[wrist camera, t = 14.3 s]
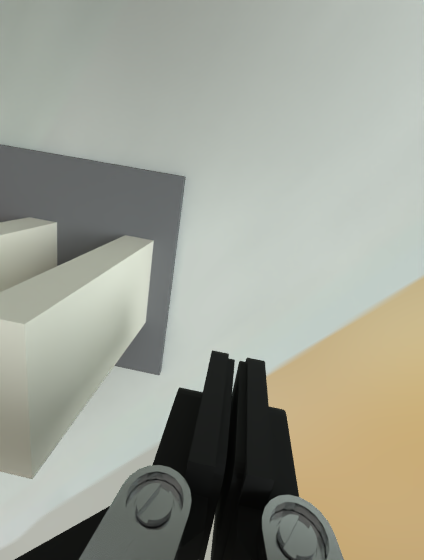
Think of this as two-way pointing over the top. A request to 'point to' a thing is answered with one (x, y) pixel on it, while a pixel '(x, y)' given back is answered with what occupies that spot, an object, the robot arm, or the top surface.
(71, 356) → the domino
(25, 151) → the mat
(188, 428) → the robot arm
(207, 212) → the top surface
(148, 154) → the top surface
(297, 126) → the top surface
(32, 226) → the domino
